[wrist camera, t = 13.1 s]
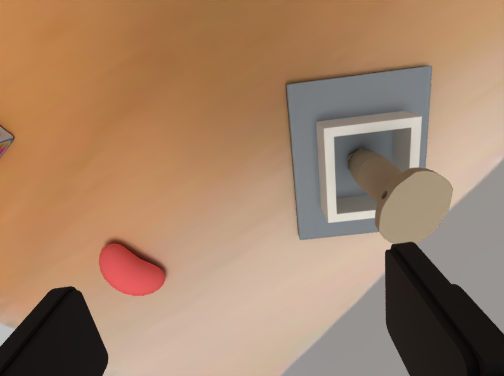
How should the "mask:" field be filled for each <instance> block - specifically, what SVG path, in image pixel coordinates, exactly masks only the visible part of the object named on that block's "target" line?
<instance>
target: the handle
mask: <svg viewBox="0 0 504 376" xmlns="http://www.w3.org/2000/svg"><path fill="white" fill-rule="evenodd" d="M348 160H349V167H348V169H349V171H350V173H351V175H352V177H353V178H354V180H355V182H356V183H357V184H358V185H359V186H360V187H361V189H363V190H364V191H365V192H366V193H367V194H368V195H370V196H371V197H372V198H373V199H374V200H375V201H376V202H377V206H376V212H375V226H376V228H377V229H378V231H379V232H380V233H381V235H382V236H383V237H384V238H385V239H386V240H388V241H389V242H391V243H394V244H397V243H405V242H414V243H415V244H417V243H418V242H420V241H421V240H423V239H424V238H426V237H427V236H429V235H430V234H431V233H432V232H433V231H434V230H435V229H436V228H437V227H438V225H439V224H440V222H441V221H442V220H443V218H444V217H445V215H446V214H447V212H448V210H449V206H450V202H451V197H452V191H453V188H452V186H451V184H450V182H449V181H448V180H447V179H446V178H444V177H443V176H441V175H439V174H438V173H436V172H434V171H432V170H429V169H426V168H420V167H417V168H409V169H408V170H406V171H404V172H403V173H402V172H401V171H400V170H399V169H398V168H397V167H396V166H395V165H394V164H393V163H392V162H391V161H389V160H388V159H387V158H385V157H384V156H382V155H380V154H378V153H376V152H373V151H368V150H366V149H364V148H359V149H358V150H357V151H356V152H354V153H352V154H349V156H348Z"/></svg>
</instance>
